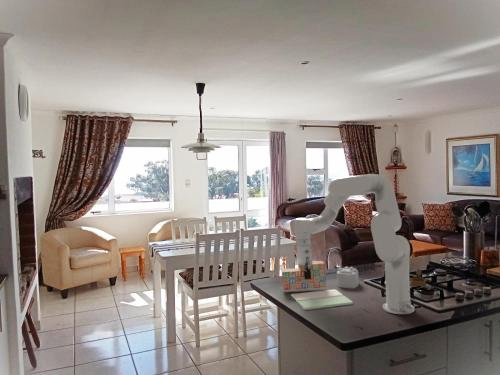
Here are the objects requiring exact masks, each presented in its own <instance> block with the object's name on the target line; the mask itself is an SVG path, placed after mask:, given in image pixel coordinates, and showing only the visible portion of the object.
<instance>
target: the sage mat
mask: <svg viewBox="0 0 500 375" xmlns="http://www.w3.org/2000/svg"><path fill="white" fill-rule="evenodd" d="M297 304H298V305H299V307H301V308H302V309H303V311H309V310H317V309H325V308H334V307H339V306H341V307H342V306H348V305H353V304H354V302H353V301H352V300H351V299H350V298H348V297H347V296H346V295H343V296H338V297H329V298H321V299H313V300H305V301H298V302H297Z"/></svg>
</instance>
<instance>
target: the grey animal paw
mask: <svg viewBox="0 0 500 375" xmlns="http://www.w3.org/2000/svg"><path fill="white" fill-rule="evenodd" d="M359 282H360V281H359V270H358V269H357V268H354V267H353V266H350V267H349V266H345V267H344V268H342V267H339V268H338V269H337V271H336V286H337V287H338V288H345V289H355V288H357V287H358V286H359V284H360V283H359Z"/></svg>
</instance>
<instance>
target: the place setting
mask: <svg viewBox="0 0 500 375" xmlns="http://www.w3.org/2000/svg"><path fill="white" fill-rule="evenodd" d="M415 271H416V272H415V273H416V275H417V277H411V278H410V283H411V285H410V286H411V287H413V286H425V285H426V283H427V279H426V278H423V277H421V275H422V269H415ZM418 277H420V278H418ZM425 287H426V286H425Z"/></svg>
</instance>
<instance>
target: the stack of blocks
mask: <svg viewBox="0 0 500 375" xmlns="http://www.w3.org/2000/svg"><path fill="white" fill-rule="evenodd" d="M312 262H313V264H312V265H311V279H305V275H304V271H305V269H304V266H303V265H302V264H300V263H299V262H298V267H296V268H283V269H281V282H282V288H283V291H288V290H290V291H291V290H305V289H306V290H307V289H321V288H327V282H326V278H327V277H326V267H325V266H326V265H325V262H324V261H323V260H312ZM305 265H307V264H305ZM307 267H308V266H306V268H307Z"/></svg>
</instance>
